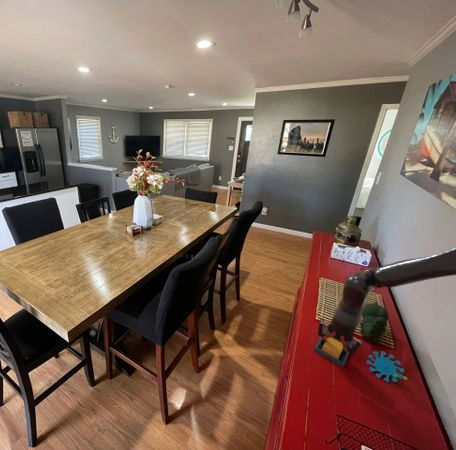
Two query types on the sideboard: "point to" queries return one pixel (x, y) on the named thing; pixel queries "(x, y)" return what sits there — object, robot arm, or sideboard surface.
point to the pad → (333, 347)
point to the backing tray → (318, 349)
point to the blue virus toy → (386, 367)
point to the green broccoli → (374, 321)
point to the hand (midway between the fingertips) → (332, 350)
